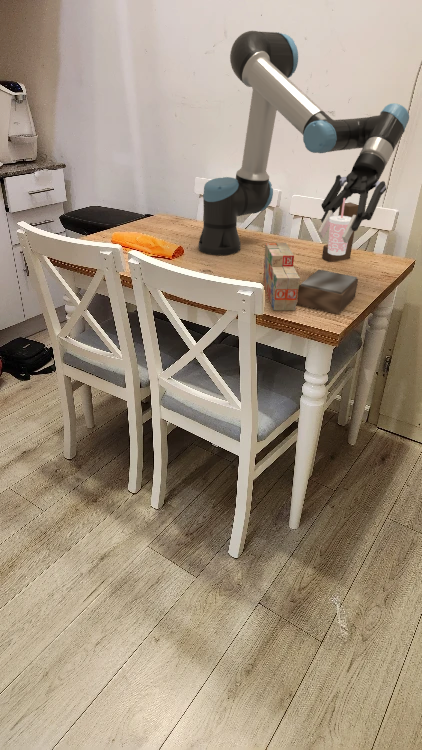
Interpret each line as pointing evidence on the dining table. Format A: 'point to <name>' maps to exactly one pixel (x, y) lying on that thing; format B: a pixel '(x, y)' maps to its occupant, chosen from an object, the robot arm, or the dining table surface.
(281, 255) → the stack of blocks
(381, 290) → the dining table surface
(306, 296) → the plinth
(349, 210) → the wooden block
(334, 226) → the beverage cup
